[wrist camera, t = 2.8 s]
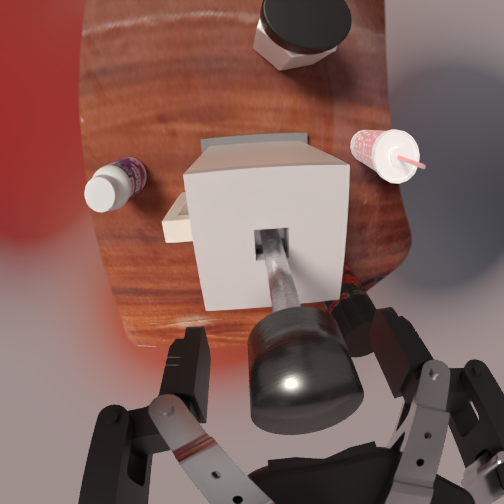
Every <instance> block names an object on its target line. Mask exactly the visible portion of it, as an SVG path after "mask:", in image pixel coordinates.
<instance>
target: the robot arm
mask: <svg viewBox="0 0 504 504" xmlns="http://www.w3.org/2000/svg"><path fill="white" fill-rule="evenodd" d="M369 340H370V345H371V347H372V349H373V351H374V354H375V356H376V358H377V360H378V362H379V364H380V367H381V369H382V371H383V373H384V375H385V378H386V380H387V382H388V385H389V387H390V389H391V391H392V394H393V396H394V398H397V397H401V396H403V397H404V402H403V404H402V408H401V411H400V414H399V417H398V420H397V423H396V426H395V429H394V432H393V434H392V437H391V439H390V441H389V443H388V444H387V446H386V448H385V447H376V444H375V442H374V441H373V442H370V443H366V444H363V445H359V446H354V447H350V448H348V449H346V450H344V451H342V452H339V453H337V454H335V455H333V456H330V457H328V458H325V459H312V458H299V457H294V458H285V459H275V460H268V466H266V467H262V468H260V469H258V470H255V471H254V472H252V473H250V474H249V475H246V474H244V472H243V471H242V470H241V469H240V468H239V467H238V466H237V465H236V464H235V463H234V461H233V460H232V459H231V458H230V457H229V456H228V455H227V454H226V452H225V451H224V450H223V449H222V448H221V447H220V446H219V444H218V443H217V442H216V441H215V440H214V439H213V438H212V437H210V436H209V435H208V434H207V433H206V432H205V430H204V429H203V428H202V427H201V426H200V424H199V423H206V418H207V403H208V389H209V375H210V362H211V358H210V349H209V345H208V341H207V337H206V333H205V329H204V327H203V326H201V327H187V328H186V332H185V337H184V339H176V340H175V341H174V342H173V344H172V345H171V346H170V348H169V352H168V356H167V357H168V358H167V361H166V366H165V369H164V374H163V379H162V383H161V388H160V392H159V395H158V397H157V398H155V399H154V400H153V401H152V402H151V403H150V405H149V406H147V407H144V408H140V409H135V410H130V411H127V410H126V409H125V408H124V407H122V406H120V405H110V406H107V407H105V408H104V409H103V410H101V412H100V413H99V415H98V418H97V421H96V425H95V429H94V432H93V436H92V440H91V444H90V448H89V453H88V457H87V461H86V466H85V471H84V475H83V480H82V486H81V491H80V497H79V503H78V504H148V495H149V484H150V474H151V465H152V456H153V454H154V453H159V452H163V451H168V450H171V451H172V452H173V454H174V455H175V458H176V459H177V461H178V462H179V463H180V465H181V466H182V468H183V469H184V471H185V472H186V473H187V475H188V476H189V477H190V479H191V480H192V481H193V483H194V484H195V485H196V487H197V488H198V489H199V490H200V492H201V493H202V494H203V495H204V497H205V498H206V499H207V500H208V501H209V503H210V504H491V503H492V502H494V501H496V500H498V499H500V498H501V497H503V496H504V394H503V392H502V391H501V389H500V387H499V385H498V383H497V382H496V380H495V378H494V377H493V375H492V374H491V372H490V370H489V369H488V367H487V366H486V364H485V363H483V362H482V361H479V360H470V361H468V362H467V363H466V365H465V367H464V368H448V366H447V365H446V364H445V363H443V362H442V361H439V360H434V359H433V357H432V356H431V354H430V352H429V351H428V349H427V348H426V346H425V345H424V343H423V341H422V340H421V338H419V335H418V334H417V332H415V329H414V327H413V326H412V324H411V323H410V322H409V321H408V320H407V319H405V318H404V317H403V316H400V317H398V315H397V313H396V312H395V310H394V309H393V308H392V307H388V308H382V309H377V310H376V311H375V314H374V318H373V322H372V326H371V330H370V334H369ZM471 401H472V402H473V404H474V407H475V409H476V410H477V412H478V415H479V420H478V418H477V416H476V414H475V412H474V410H473V408H472V406H471V404H470V402H471ZM448 425H449V427H450V429H451V432H452V434H453V436H454V439H455V441H456V444H457V446H458V449H459V452H460V454H461V457H462V459H463V462H464V465H465V468H466V470H465V472H464V476H463V479H462V482H461V484H462V486H463V487H464V488H462V487H460V486H458V485H456V484H454V483H452V482H450V481H449V480H447V479H445V478H443V477H441V476H439V475H438V474H436V473H437V470H438V466H439V463H440V459H441V455H442V450H443V447H444V442H445V438H446V433H447V428H448Z"/></svg>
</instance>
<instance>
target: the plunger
mask: <svg viewBox="0 0 504 504" xmlns="http://www.w3.org/2000/svg"><path fill="white" fill-rule="evenodd" d="M254 238H255V253H256V254H264V260H265V266H266V272H267V278H268V284H269V290H270V296H271V303H272V309H273V313H272V314H270V315H268V316H267V317H265V318H264V319H262V320H261V321H260V322H259V323H258V324H257V325H256V326H255V327H254V328H253V330H252V331H251V333H250V335H249V338H248V365H249V387H250V406H251V407H250V408H251V418H252V421H253V422H254V424H255V425H256V426H257V427H259V428H260V429H262V430H265V431H267V432H271V433H275V434H282V435H283V434H284V435H298V434H306V433H311V432H316V431H320V430H323V429H326V428H329V427H331V426H333V425H335V424H337V423H339V422H341V421H343V420H345V419H346V418H347V417H349V416H350V415H351V414H353V413H354V412H355V411H356V410H357V409H358V407H359V406H360V405H361V403H362V401H363V398H364V391H363V388H362V385H361V382H360V380H359V377H358V374H357V372H356V369H355V366H354V364H353V361H352V359H351V356H350V353H349V351H348V348H347V346H346V343H345V341H344V338H343V336H342V333H341V331H340V328H339V326H338V324H337V322H336V320H335V319H334V318H333V317H332V316H331V315H330V314H329V313H327V312H325V311H323V310H321V309H318V308H314V307H305V306H301V304H300V301H299V297H298V294H297V291H296V287H295V284H294V281H293V277H292V274H291V271H290V267H289V264H288V261H287V258H286V254H285V252H287V228H276V229H262V230H254Z"/></svg>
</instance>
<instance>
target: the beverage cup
mask: <svg viewBox="0 0 504 504" xmlns="http://www.w3.org/2000/svg"><path fill="white" fill-rule="evenodd" d="M350 148H351V151H352V154H353V155H354V157H355V158H356V159H357V160H359V161H360V162H362V163H364V164H365V165H367V166H368V167H370V168H371V169H373V170H375V171H376V172H377V173H378V175H379V176H380V177H382V178H383V179H385V180H386V181H388V182H390V183H397V184H400V183H402V182H405V181H408V180H409V179H410V178H411V177H412V176H413V175H414V174H415V172H416V170H417V167H419V168H422V169H425V165H424V164H422V163H419V156H420V154H419V150H418V145H417V144H416V142H415V140H414V139H413V137H412V136H410V135H409V134H408V133H406V132H405V131H400V130H395V129H394V130H393V129H392V130H388V131H376V130H362V131H359V132H357V133H356V134H355V135H354V136H353V138H352V140H351V147H350Z"/></svg>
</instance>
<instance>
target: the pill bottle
mask: <svg viewBox="0 0 504 504" xmlns="http://www.w3.org/2000/svg"><path fill="white" fill-rule="evenodd" d="M146 178H147V176H146V170H145V167H144V166H143V164H142V163H141V162H140V161H139V160H137V159H135V158H131V157H126V158H122V159H120V160H117V161H115V162H113V163H110V164H108V165H106V166H104V167H101V168H100V169H99V170H97V171H96V173H95V174H94V175H93V177H92V179H91V180H90V181H89V182H88V183H87V185H86V187H85V193H84V194H85V200H86V202H87V204H88V206H89V207H90V208H91V209H93V210H94V211H96V212H106V211H108V210H116V209H119V208H121V207H122V206H124V205H125V204H126V203H127V202H128V201H129V200H131V199H132V198H133V197H134V196H135V195H136V194H138V193H139V192H140V191H141V190H142V189H143V187H144V186H145V183H146Z"/></svg>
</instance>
